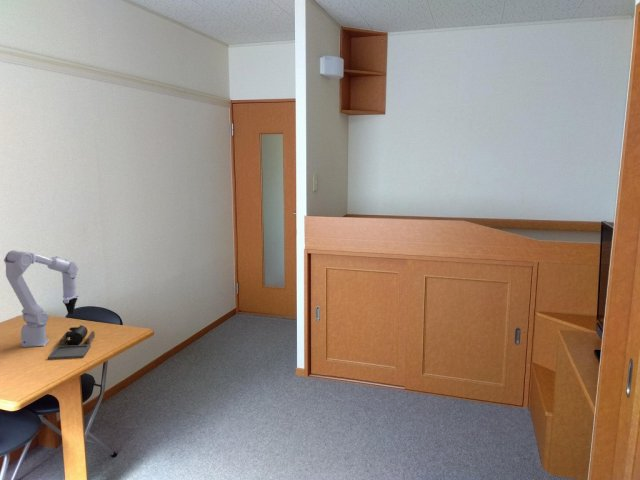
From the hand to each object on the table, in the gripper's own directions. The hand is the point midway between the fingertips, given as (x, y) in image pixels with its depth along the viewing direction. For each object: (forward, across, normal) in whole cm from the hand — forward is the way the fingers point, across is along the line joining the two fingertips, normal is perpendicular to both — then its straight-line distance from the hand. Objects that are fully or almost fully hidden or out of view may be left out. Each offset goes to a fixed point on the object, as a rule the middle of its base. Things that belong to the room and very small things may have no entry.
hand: (70, 313), depth 240 cm
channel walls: (+9, -14, -6) cm, 18 cm away
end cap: (+10, -15, -6) cm, 19 cm away
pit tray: (+9, -28, -6) cm, 30 cm away
